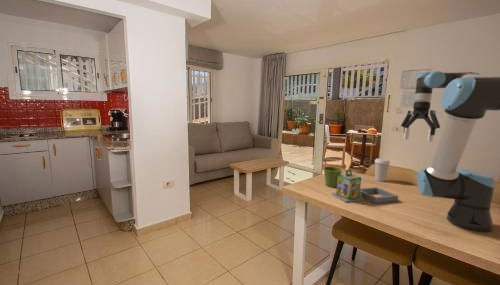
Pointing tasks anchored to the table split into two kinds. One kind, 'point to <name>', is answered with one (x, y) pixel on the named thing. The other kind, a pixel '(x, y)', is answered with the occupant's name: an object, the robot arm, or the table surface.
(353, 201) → the pad
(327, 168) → the plant pot
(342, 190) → the chalk box
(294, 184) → the table surface
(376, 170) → the coffee cup
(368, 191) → the collar
